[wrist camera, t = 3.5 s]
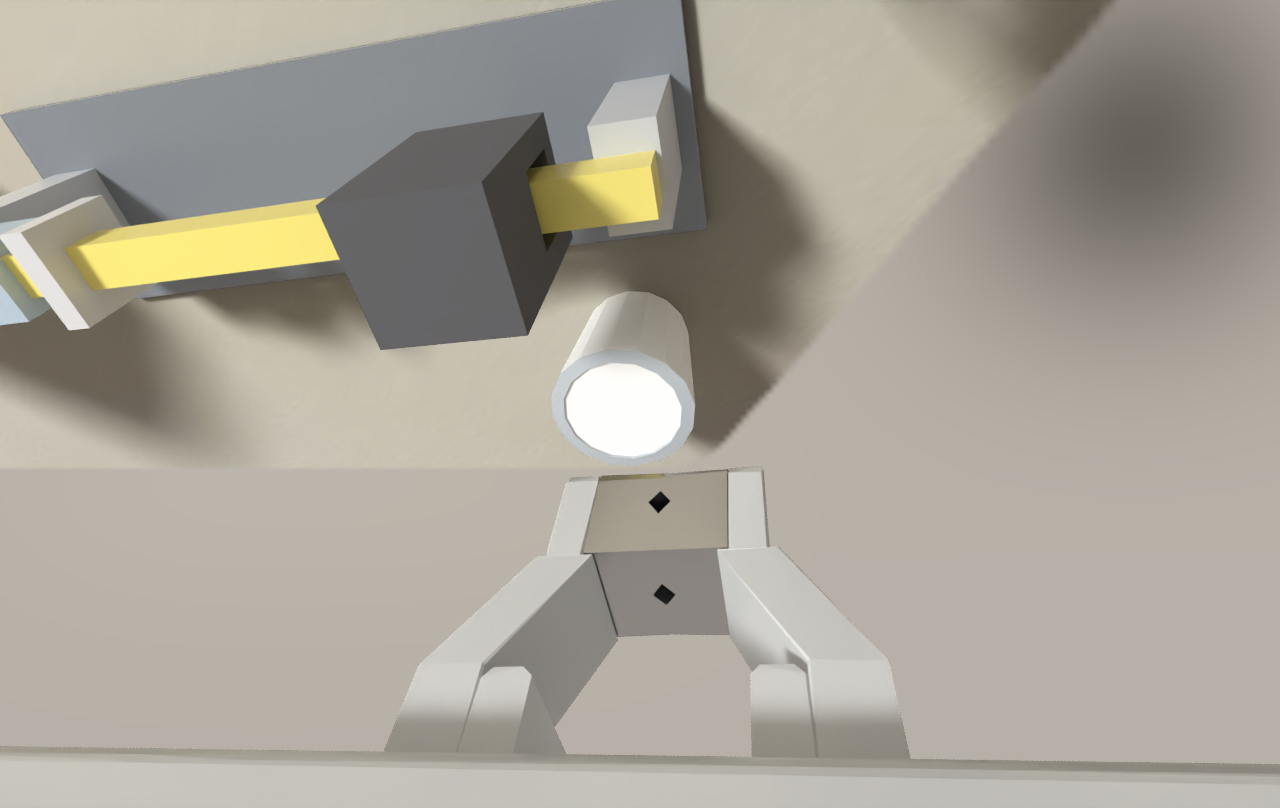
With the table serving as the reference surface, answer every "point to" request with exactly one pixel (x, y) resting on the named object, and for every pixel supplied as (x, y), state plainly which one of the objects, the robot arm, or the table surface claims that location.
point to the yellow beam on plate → (340, 154)
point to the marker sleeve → (449, 234)
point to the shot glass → (628, 382)
